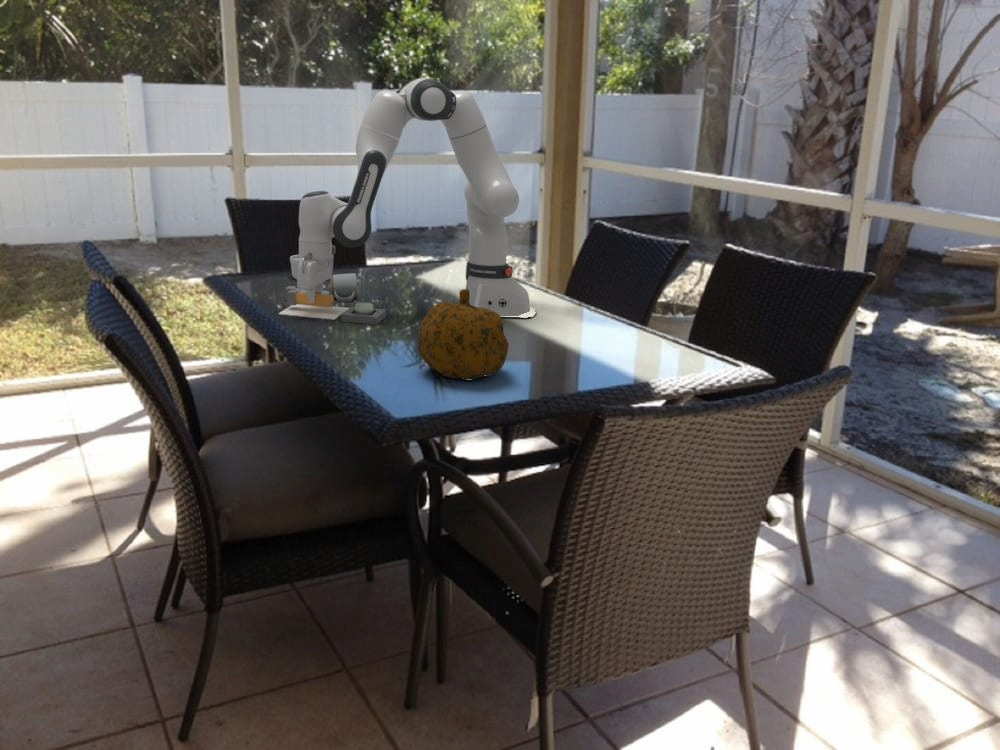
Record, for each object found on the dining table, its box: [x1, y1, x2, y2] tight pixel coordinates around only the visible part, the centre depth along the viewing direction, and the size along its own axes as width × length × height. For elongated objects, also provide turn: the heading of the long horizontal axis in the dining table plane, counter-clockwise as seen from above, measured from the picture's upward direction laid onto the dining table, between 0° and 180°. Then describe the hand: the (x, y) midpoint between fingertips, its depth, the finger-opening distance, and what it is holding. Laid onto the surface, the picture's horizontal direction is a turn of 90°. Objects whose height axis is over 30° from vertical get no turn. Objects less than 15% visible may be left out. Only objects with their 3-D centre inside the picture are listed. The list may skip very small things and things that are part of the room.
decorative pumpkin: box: [417, 288, 510, 380], centre depth 214 cm, size 20×21×20 cm
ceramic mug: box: [329, 272, 358, 303], centre depth 282 cm, size 10×8×7 cm
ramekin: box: [289, 254, 303, 281], centre depth 308 cm, size 13×13×7 cm
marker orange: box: [286, 290, 335, 307], centre depth 264 cm, size 12×4×4 cm, turn 82°
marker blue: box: [284, 285, 331, 302], centre depth 277 cm, size 12×4×4 cm, turn 82°
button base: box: [340, 306, 387, 325], centre depth 260 cm, size 10×10×2 cm
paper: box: [278, 304, 350, 321], centre depth 265 cm, size 16×14×1 cm
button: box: [354, 302, 374, 315], centre depth 260 cm, size 5×5×2 cm
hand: (315, 300), depth 264 cm, fingers closed on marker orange, 3 cm apart
